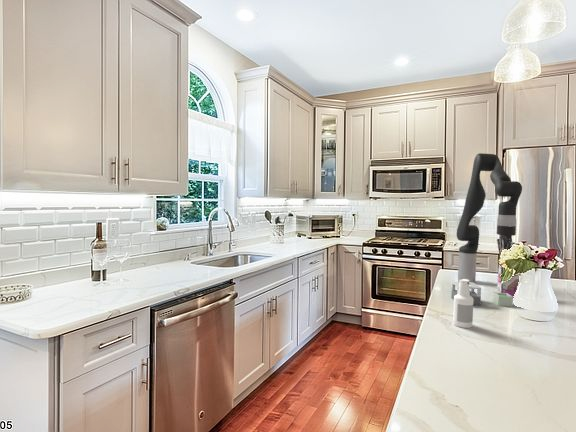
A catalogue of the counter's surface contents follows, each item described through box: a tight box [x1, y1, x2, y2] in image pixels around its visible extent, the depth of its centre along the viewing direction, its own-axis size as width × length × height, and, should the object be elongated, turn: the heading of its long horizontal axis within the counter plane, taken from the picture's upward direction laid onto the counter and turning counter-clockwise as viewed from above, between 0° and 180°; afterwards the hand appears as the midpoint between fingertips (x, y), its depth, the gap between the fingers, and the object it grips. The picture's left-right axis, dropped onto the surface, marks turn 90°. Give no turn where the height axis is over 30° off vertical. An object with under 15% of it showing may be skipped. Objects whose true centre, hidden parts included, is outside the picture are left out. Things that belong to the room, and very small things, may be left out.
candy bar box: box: [496, 264, 519, 296], centre depth 180 cm, size 11×5×16 cm, turn 84°
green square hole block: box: [492, 291, 514, 307], centre depth 166 cm, size 6×6×5 cm
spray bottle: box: [452, 279, 474, 329], centre depth 139 cm, size 7×7×18 cm
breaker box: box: [450, 280, 482, 306], centre depth 170 cm, size 10×10×8 cm
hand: (504, 261), depth 165 cm, fingers closed on walnut dowel, 2 cm apart
